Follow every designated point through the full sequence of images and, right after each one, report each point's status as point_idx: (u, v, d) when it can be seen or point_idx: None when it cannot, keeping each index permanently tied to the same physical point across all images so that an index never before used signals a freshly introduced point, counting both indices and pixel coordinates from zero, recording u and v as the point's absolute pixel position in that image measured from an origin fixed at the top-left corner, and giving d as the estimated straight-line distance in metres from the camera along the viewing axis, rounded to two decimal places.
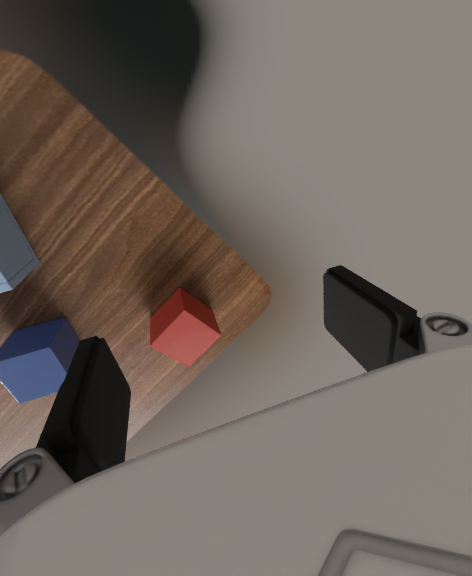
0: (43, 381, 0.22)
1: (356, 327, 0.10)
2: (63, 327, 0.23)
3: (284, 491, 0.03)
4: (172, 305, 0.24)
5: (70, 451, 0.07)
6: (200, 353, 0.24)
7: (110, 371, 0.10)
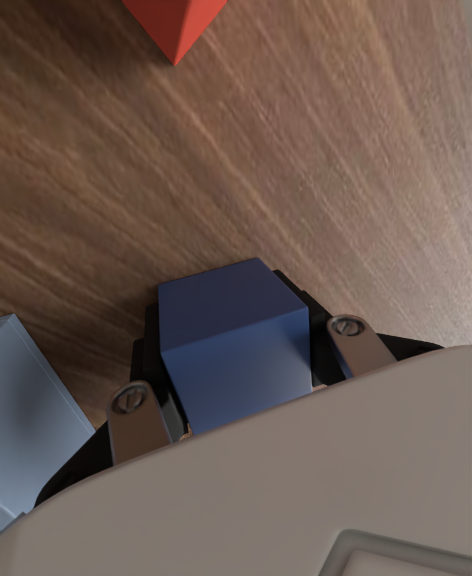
0: (269, 367, 0.09)
1: None
2: (166, 297, 0.10)
3: (284, 491, 0.03)
4: None
5: (160, 386, 0.08)
6: None
7: None
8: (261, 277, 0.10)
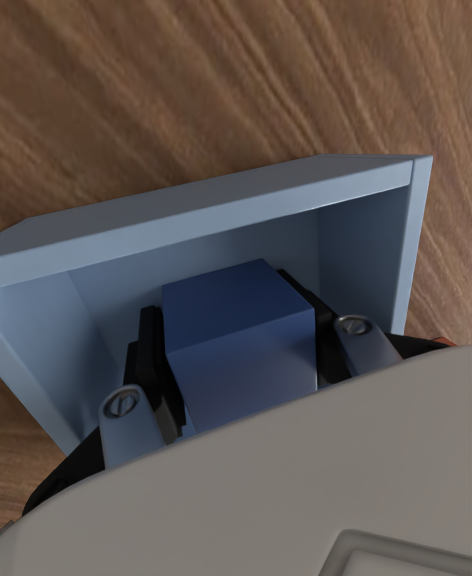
0: (274, 369, 0.08)
1: None
2: (170, 298, 0.10)
3: (284, 491, 0.03)
4: None
5: (153, 390, 0.08)
6: None
7: None
8: (266, 278, 0.10)
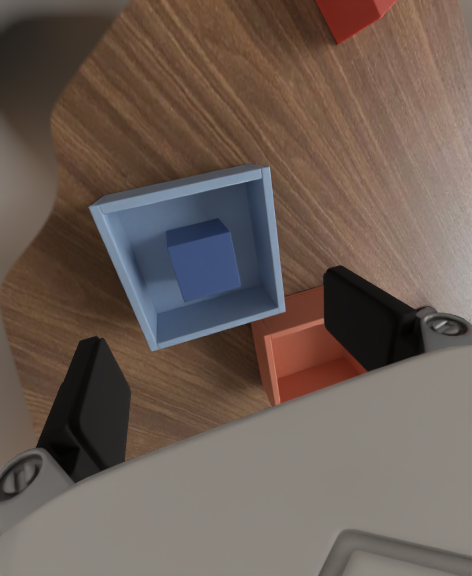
0: (215, 261, 0.19)
1: (356, 327, 0.10)
2: (170, 234, 0.20)
3: (284, 491, 0.03)
4: None
5: (70, 451, 0.07)
6: None
7: (110, 371, 0.10)
8: (216, 224, 0.20)
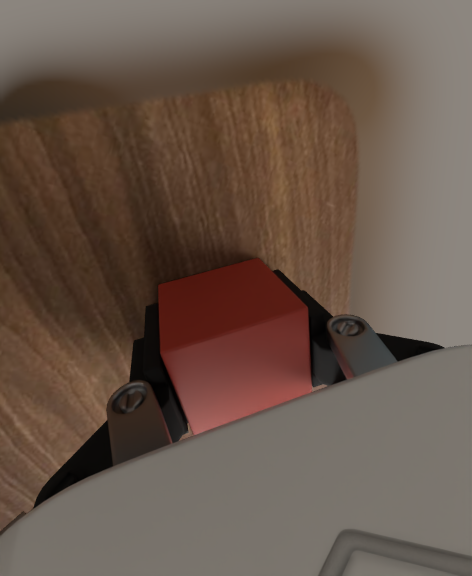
0: None
1: None
2: None
3: (284, 491, 0.03)
4: None
5: (160, 386, 0.08)
6: (306, 372, 0.09)
7: None
8: None
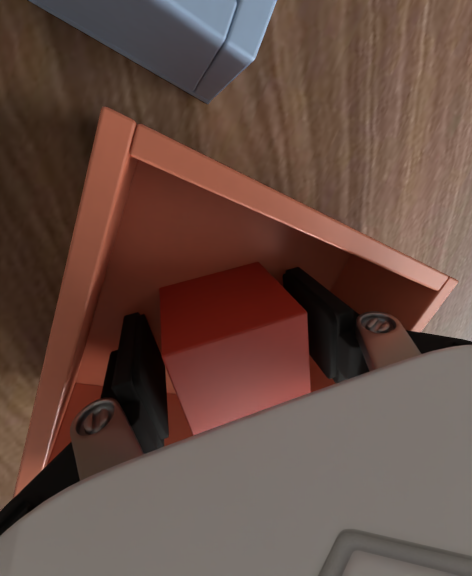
0: None
1: (308, 325, 0.10)
2: None
3: (284, 491, 0.03)
4: None
5: (132, 403, 0.08)
6: (305, 375, 0.09)
7: (151, 343, 0.10)
8: None
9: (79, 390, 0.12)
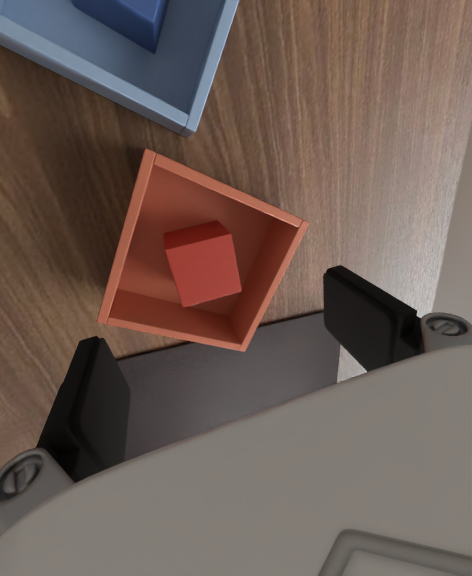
0: None
1: (356, 327, 0.10)
2: None
3: (284, 491, 0.03)
4: None
5: (70, 451, 0.07)
6: (235, 269, 0.19)
7: (110, 371, 0.10)
8: None
9: (119, 291, 0.21)
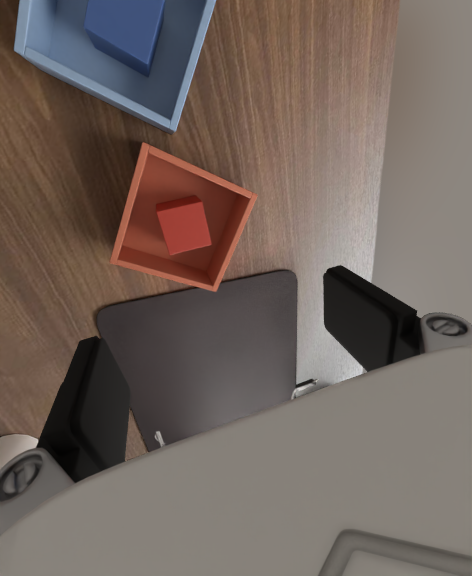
0: (136, 10, 0.19)
1: (356, 327, 0.10)
2: None
3: (284, 491, 0.03)
4: None
5: (70, 451, 0.07)
6: (206, 228, 0.27)
7: (110, 371, 0.10)
8: None
9: (124, 247, 0.29)
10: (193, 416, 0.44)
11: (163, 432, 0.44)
